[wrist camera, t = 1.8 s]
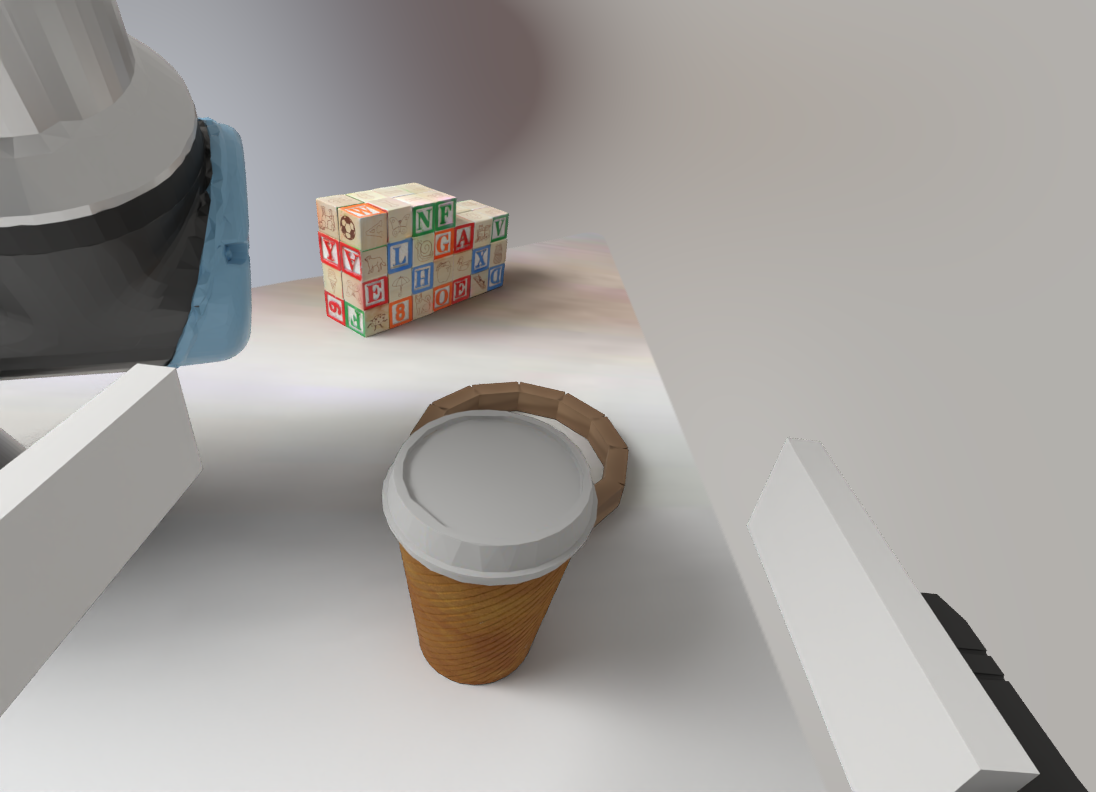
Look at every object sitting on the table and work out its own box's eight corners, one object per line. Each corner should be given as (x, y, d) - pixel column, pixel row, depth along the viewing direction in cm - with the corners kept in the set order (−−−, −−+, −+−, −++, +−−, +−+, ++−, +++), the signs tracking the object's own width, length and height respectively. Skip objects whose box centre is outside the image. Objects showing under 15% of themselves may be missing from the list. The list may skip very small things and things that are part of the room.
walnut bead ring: (367, 453, 41) (366, 432, 40) (515, 381, 52) (517, 363, 51) (524, 586, 33) (529, 565, 32) (659, 469, 44) (666, 450, 43)
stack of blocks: (467, 270, 73) (473, 173, 66) (503, 286, 70) (513, 186, 63) (325, 316, 57) (313, 195, 50) (364, 340, 55) (358, 215, 48)
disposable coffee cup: (582, 594, 34) (624, 441, 27) (523, 753, 26) (562, 594, 19) (442, 538, 36) (450, 383, 29) (349, 670, 28) (330, 500, 21)
